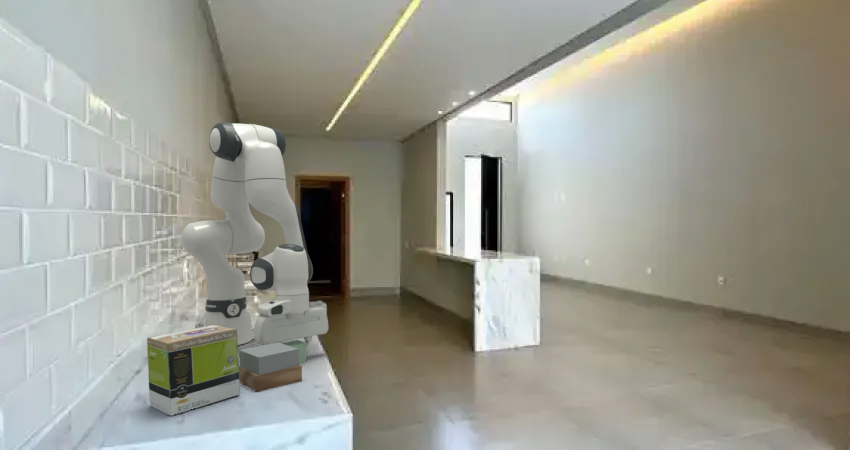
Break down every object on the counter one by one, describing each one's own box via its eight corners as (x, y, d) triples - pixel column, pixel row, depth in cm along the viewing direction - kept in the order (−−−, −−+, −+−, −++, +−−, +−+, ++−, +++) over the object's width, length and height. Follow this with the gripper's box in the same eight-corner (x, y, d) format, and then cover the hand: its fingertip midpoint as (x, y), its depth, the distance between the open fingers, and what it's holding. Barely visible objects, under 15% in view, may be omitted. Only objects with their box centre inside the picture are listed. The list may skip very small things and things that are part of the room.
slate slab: (239, 366, 119) (239, 350, 119) (278, 358, 126) (277, 342, 126) (259, 375, 112) (258, 357, 112) (299, 365, 119) (298, 348, 119)
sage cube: (280, 361, 136) (280, 343, 136) (297, 357, 139) (297, 339, 139) (289, 365, 132) (288, 346, 132) (306, 361, 136) (306, 342, 136)
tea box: (217, 387, 115) (215, 323, 115) (240, 396, 109) (239, 328, 109) (147, 406, 104) (146, 335, 104) (169, 417, 97) (167, 341, 97)
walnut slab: (238, 383, 120) (237, 366, 120) (281, 373, 127) (280, 357, 127) (256, 394, 111) (256, 376, 111) (302, 382, 119) (301, 366, 119)
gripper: (320, 298, 145) (321, 346, 145) (251, 307, 132) (252, 360, 132) (332, 300, 140) (333, 350, 140) (261, 310, 127) (262, 365, 127)
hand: (293, 355), depth 136 cm, fingers closed on sage cube, 5 cm apart
